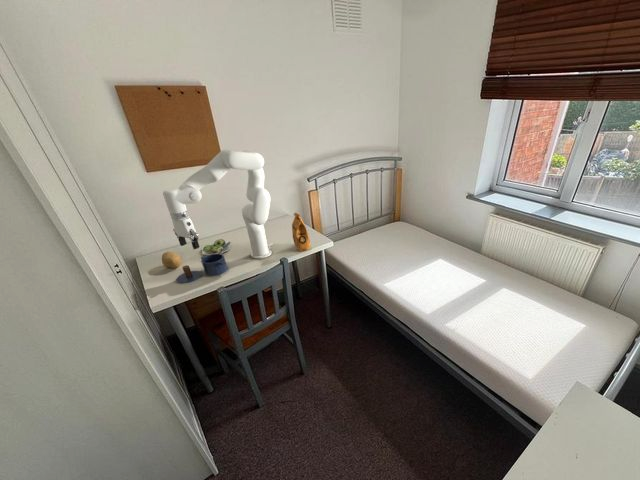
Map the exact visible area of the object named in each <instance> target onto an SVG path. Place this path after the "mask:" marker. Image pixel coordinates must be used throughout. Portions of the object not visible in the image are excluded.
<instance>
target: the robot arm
mask: <svg viewBox="0 0 640 480" xmlns="http://www.w3.org/2000/svg"><path fill="white" fill-rule="evenodd" d="M264 166H265V159H264V157H263V155H262V154H261V153H258V152H255V151H252V150H242V151H239V150H238V151H236V150H232V149H228V148H227V149H226V148H224V149H222V150H221V151H219V152H218V153H217V154H216V155H215V156H214V157H213V158H212V159H211V160H209V162H208V163H207V164H205V166H203V167H202V168H201V169H198V171H196V172H194V173H193V174H191V175H190V176H189V177H187V179H186V180H185V181H183V182H182V183H181V185H180V186H179V187H178V188H168V189H165V190H163V191H162V197H163V198H164V201H165V204H166V207H167V210H168V212H169V216H170V219H171V221H172V225H173V228H172V231H173V233H174V235H175V236H176V238H177V240H178V242H179V245H180V246H181V247H183V246H185V245H187V244H188V243H187V240H186V239H189V240H190V241H191V246H192V249H193V250H197V249H199V248H200V244H199V233H198V232H197V231H196V228H195V225H194V223H193V221H192V219H191V217H190V215H189V212H188V208H187V206H186V205H189V204H198V203H199V202H200V201H202V198H203V195H202V192H201V191H200V190H201V189H203V188H204V187H205V186H207V185H209V184H213V183H214V184H215V183H217V182H219V181H220V180H221V179H222V178H223V177H224V176H225V175H226V174H227V173H228V172H229V171H230V170H231V169H233V170H240V171H247V174H248V175H247V176H248V177H247V186H246V199H247V200H248V201H249V202H251V203H248V204H245V205H244V206H243V207H242V210H241V215H242V218H243V221H244V224H245V227H246V230H247V234H248V239H249V243H250V247H251V252H250V257H251V258H252V259H255V260H257V259H258V260H259V259H265V258H268V257H269V256H271V255H272V253H273V251H272V250H271V248H272V247H274V244H273V243H272V242H271V243H268V240H267V236H266V230H265V227H264V224H266V223H267V221H268V219H269V213H270V208H271V199H272V198H271V194H270V192H269V191H268V190H267V189H266V188H265V178H266V177H265V171H264V168H263V167H264Z"/></svg>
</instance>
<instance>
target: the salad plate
mask: <svg viewBox="0 0 640 480" xmlns="http://www.w3.org/2000/svg"><path fill="white" fill-rule="evenodd" d="M231 243H232V242H231V241H228V242H227V241H226V240H224V239H223V238H219V239H216V240H215V241H214V243H210V244H206V245H203V246H202V247H201V253H202V255H203V256H208V255H211V254H222V255H224V254H225V253H226V252H228V251H229V250H230V249H231V246H230V245H231Z"/></svg>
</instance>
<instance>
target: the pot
mask: <svg viewBox="0 0 640 480" xmlns="http://www.w3.org/2000/svg"><path fill="white" fill-rule="evenodd" d="M200 263H201V265H202V268H203V272H204V274H205V276H208V277H216V276H220V275H223V274H225V273H226V272H228V265H227V262H226V259H225V255H224V254H211V255H208V256H206V255H203V256H201V257H200Z"/></svg>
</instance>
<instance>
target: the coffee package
mask: <svg viewBox="0 0 640 480" xmlns="http://www.w3.org/2000/svg"><path fill="white" fill-rule="evenodd" d="M293 216H294V218H293V221H292V223H291V230H292V232H291V233H292V239H293V244H294V246H295V248H296V249H297V250H298V251H299V252H304V251H309V250H311V240H310V236H309V232H308V230H307V228H306V225H305V223H304V221H303V219H302V217H301V215H300V214H299V213H297V212H294V213H293Z"/></svg>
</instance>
